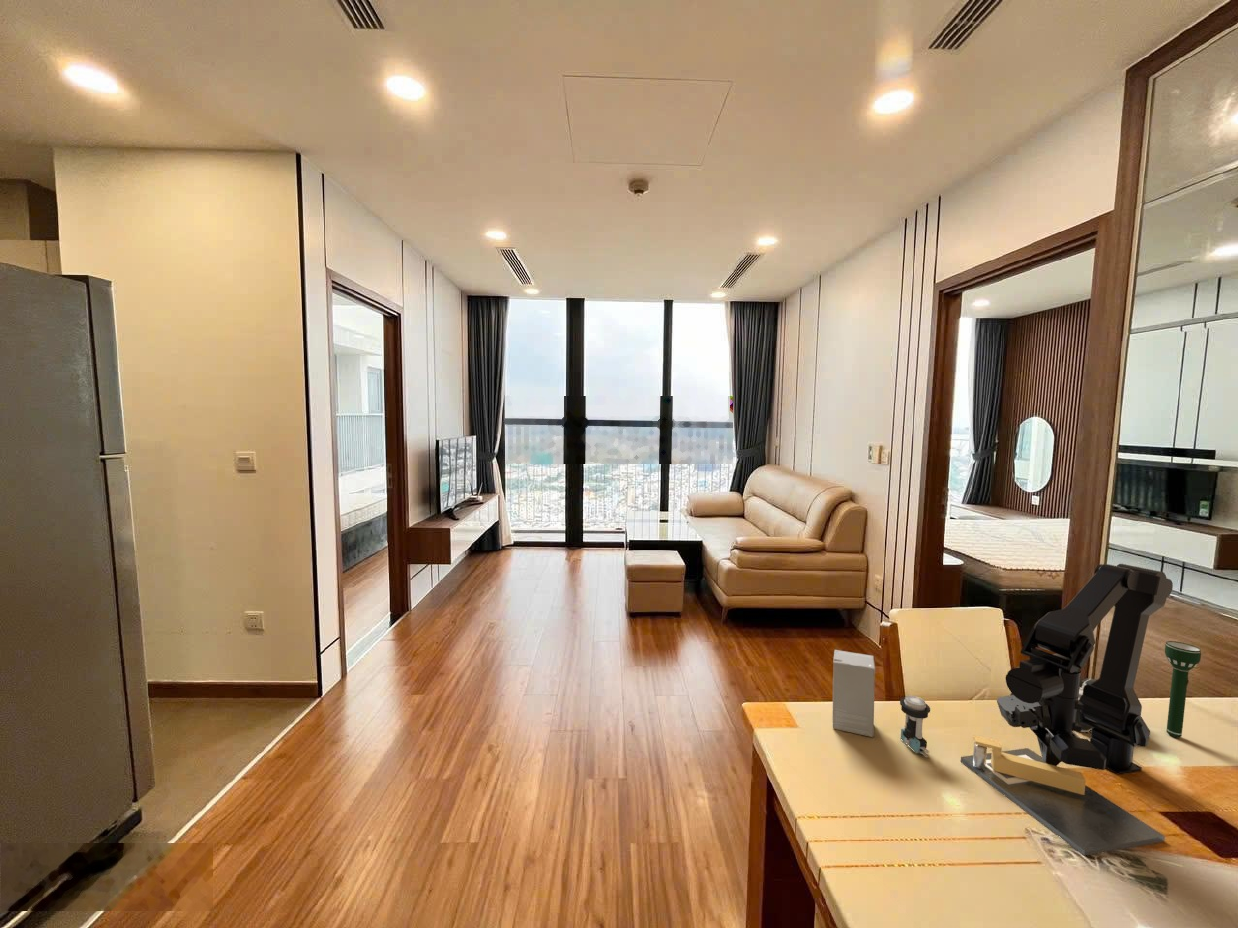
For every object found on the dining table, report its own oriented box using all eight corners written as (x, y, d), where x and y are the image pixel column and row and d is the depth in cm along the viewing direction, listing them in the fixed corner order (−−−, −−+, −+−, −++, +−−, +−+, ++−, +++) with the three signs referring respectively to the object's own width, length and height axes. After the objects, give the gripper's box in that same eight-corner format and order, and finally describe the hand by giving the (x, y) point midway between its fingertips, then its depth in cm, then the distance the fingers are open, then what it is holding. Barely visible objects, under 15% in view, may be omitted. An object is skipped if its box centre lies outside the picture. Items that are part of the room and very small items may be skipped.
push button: (939, 758, 99) (942, 710, 98) (915, 760, 98) (918, 712, 97) (914, 737, 105) (916, 692, 104) (891, 739, 104) (894, 694, 104)
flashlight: (1191, 745, 104) (1201, 653, 102) (1155, 733, 108) (1164, 644, 106) (1192, 736, 107) (1202, 646, 106) (1157, 724, 111) (1166, 638, 109)
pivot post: (978, 767, 96) (980, 741, 96) (987, 774, 94) (989, 747, 94) (969, 768, 96) (971, 742, 95) (978, 775, 94) (980, 748, 93)
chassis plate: (1027, 752, 101) (1027, 747, 101) (1164, 841, 79) (1164, 835, 79) (960, 761, 98) (961, 756, 98) (1084, 856, 76) (1084, 850, 76)
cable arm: (973, 765, 94) (975, 741, 94) (971, 758, 96) (973, 734, 96) (1084, 794, 87) (1086, 769, 87) (1079, 786, 89) (1082, 761, 89)
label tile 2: (1000, 759, 97) (1000, 757, 97) (1030, 780, 91) (1031, 778, 91) (978, 762, 96) (978, 760, 96) (1008, 784, 90) (1008, 782, 90)
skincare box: (872, 722, 110) (876, 654, 109) (873, 741, 104) (877, 668, 103) (831, 712, 114) (834, 646, 113) (829, 730, 107) (833, 659, 106)
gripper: (983, 658, 101) (976, 730, 103) (1032, 711, 83) (1023, 797, 85) (1048, 666, 98) (1040, 740, 100) (1113, 723, 80) (1102, 811, 82)
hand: (1048, 768), depth 92 cm, fingers closed
